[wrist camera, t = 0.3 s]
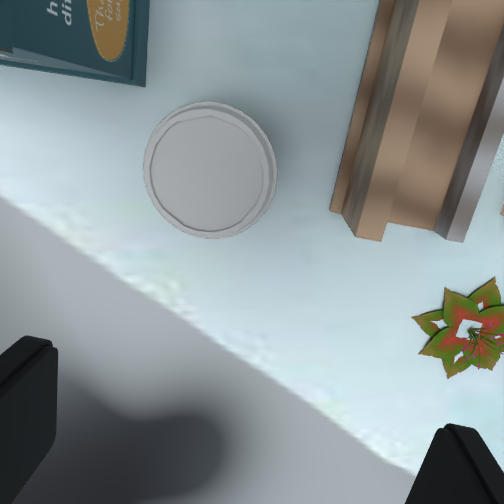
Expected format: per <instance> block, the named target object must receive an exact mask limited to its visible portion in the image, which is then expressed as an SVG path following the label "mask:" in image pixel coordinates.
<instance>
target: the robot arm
mask: <svg viewBox="0 0 504 504" xmlns="http://www.w3.org/2000/svg"><path fill="white" fill-rule="evenodd" d="M57 373H58V350H57V348H54V347H53V345H52V342H51V341H50V340H46V339H42V338H37V337H32V336H24V337H22V338H20V340H18V341H17V342H16V343H14V344H13V345H12V346H11V347H10V348H8V349H7V350H6V351H5V352H3V353H2V354H1V355H0V504H11V503H12V502H13V500H14V499H15V498H16V496H17V495H18V493H19V492H20V491H21V489H22V488H23V487H24V485H25V484H26V482H27V481H28V480H29V478H30V477H31V475H32V474H33V473H34V471H35V470H36V468H37V467H38V466H39V464H40V463H41V461H42V460H43V458H44V457H45V456H46V454H47V453H48V452H49V450H50V449H51V447H52V445H53V443H54V440H55V436H56V416H57V414H56V413H57V376H58V375H57ZM405 504H504V473H503V471H502V469H501V468H500V466H499V465H498V463H497V461H496V460H495V458H494V457H493V455H492V454H491V452H490V450H489V449H488V447H487V446H486V444H485V442H484V441H483V439H482V438H481V436H480V434H479V433H478V432H477V431H476V430H475V429H473V428H470V427H465V426H460V425H456V424H451V423H449V424H446V425H445V426H444V428H439V429H438V430H437V431H436V433H435V435H434V438H433V440H432V442H431V445H430V447H429V449H428V452H427V454H426V456H425V458H424V461H423V463H422V465H421V468H420V470H419V472H418V474H417V477H416V479H415V481H414V484H413V486H412V489H411V491H410V493H409V495H408V497H407V500H406V502H405Z"/></svg>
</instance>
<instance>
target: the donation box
mask: <svg viewBox="0 0 504 504" xmlns="http://www.w3.org/2000/svg"><path fill="white" fill-rule="evenodd" d="M148 20H149V0H0V65H5V66H11V67H18V68H24V69H31V70H37V71H44V72H50V73H57V74H63V75H70V76H76V77H83V78H89V79H96V80H102V81H109V82H115V83H122V84H128V85H135V86H141V87H145V80H146V60H147V40H148Z"/></svg>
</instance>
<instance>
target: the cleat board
mask: <svg viewBox="0 0 504 504" xmlns="http://www.w3.org/2000/svg"><path fill="white" fill-rule="evenodd" d="M503 133H504V0H380V2H379V6H378V11H377V15H376V19H375V23H374V27H373V31H372V35H371V40H370V44H369V48H368V52H367V56H366V60H365V64H364V68H363V73H362V77H361V81H360V85H359V89H358V93H357V97H356V102H355V106H354V110H353V114H352V118H351V122H350V126H349V131H348V135H347V139H346V143H345V147H344V151H343V155H342V160H341V164H340V168H339V172H338V176H337V180H336V184H335V188H334V193H333V197H332V201H331V205H330V209H329V210H330V211H331V212H335V213H341V215H342V216H343V218H344V219H345V221H346V223H347V224H348V226H349V228H350V229H351V231H352V232H353V234H354V236H355V237H358V238H363V239H369V240H374V241H379V242H381V241H382V237H383V234H384V231H385V227H386V224H387V222H389V223H395V224H400V225H406V226H411V227H417V228H422V229H427V230H433V231H435V232H436V233H438V234H439V235H440V236H442V237H443V238H444V239H446V240H450V241H456V242H461V243H463V241H464V238H465V236H466V233H467V230H468V228H469V225H470V222H471V219H472V217H473V214H474V211H475V209H476V206H477V203H478V201H479V198H480V195H481V192H482V190H483V187H484V184H485V182H486V179H487V176H488V174H489V171H490V168H491V165H492V163H493V160H494V157H495V155H496V152H497V149H498V147H499V144H500V141H501V138H502V136H503Z"/></svg>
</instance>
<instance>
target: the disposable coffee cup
mask: <svg viewBox="0 0 504 504" xmlns="http://www.w3.org/2000/svg"><path fill="white" fill-rule="evenodd" d="M143 170H144V180H145V184H146V188H147V191H148V194H149V196H150V198H151V200H152V202H153V204H154V206H155V207H156V209H157V210H158V211H159V213H160V214H161V215H162V216H163V217H164V218H165V219H166V220H167V221H168V222H169V223H171V224H172V225H173V226H174V227H176V228H178V229H179V230H181V231H183V232H185V233H188V234H190V235H193V236H197V237H201V238H208V239H218V238H225V237H230V236H233V235H236V234H239V233H240V232H242V231H244V230H246V229H248V228H249V227H251V226H252V225H253V224H254V223H256V222H257V221H258V220H259V219H260V217H261V216H262V215H263V214H264V213H265V211H266V209H267V208H268V206H269V205H270V203H271V200H272V197H273V195H274V192H275V187H276V180H277V166H276V159H275V155H274V151H273V148H272V146H271V144H270V141H269V139H268V138H267V136H266V134H265V133H264V131H263V130H262V129H261V128H260V127H259V125H258V124H257V123H256V122H255V121H254V120H253V119H251V118H250V117H249V116H248V115H246V114H245V113H244V112H242V111H240V110H238V109H236V108H234V107H232V106H230V105H226V104H222V103H218V102H198V103H192V104H189V105H186V106H183V107H180V108H178V109H177V110H175V111H173V112H172V113H170V114H169V115H168V116H166V117H165V118H164V119H163V120H162V121H161V122H160V123H159V124H158V125H157V127H156V128H155V130H154V132H153V133H152V135H151V137H150V139H149V141H148V144H147V147H146V149H145V155H144V163H143Z"/></svg>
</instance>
